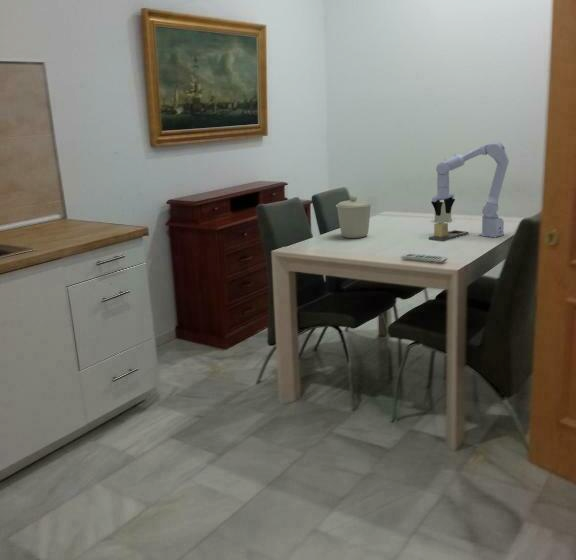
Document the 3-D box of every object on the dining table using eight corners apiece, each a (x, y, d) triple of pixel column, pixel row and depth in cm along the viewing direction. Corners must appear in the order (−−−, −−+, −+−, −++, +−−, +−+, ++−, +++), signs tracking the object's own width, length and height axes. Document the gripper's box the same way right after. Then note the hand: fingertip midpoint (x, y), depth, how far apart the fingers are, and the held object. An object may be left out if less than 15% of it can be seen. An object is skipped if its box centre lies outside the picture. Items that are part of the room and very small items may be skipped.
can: (447, 223, 343) (447, 201, 340) (431, 222, 349) (431, 200, 346) (454, 220, 350) (454, 198, 347) (438, 219, 356) (438, 198, 353)
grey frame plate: (468, 234, 312) (468, 231, 311) (442, 241, 300) (442, 238, 299) (454, 232, 318) (454, 230, 318) (428, 239, 306) (428, 236, 306)
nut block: (447, 238, 305) (447, 223, 303) (441, 240, 302) (441, 224, 300) (440, 237, 308) (440, 222, 306) (434, 239, 306) (434, 223, 304)
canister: (371, 239, 314) (370, 197, 308) (335, 240, 318) (333, 198, 312) (373, 232, 331) (372, 192, 325) (339, 233, 335) (337, 193, 329)
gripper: (445, 184, 317) (445, 211, 321) (427, 188, 309) (427, 215, 312) (457, 185, 312) (457, 212, 315) (438, 189, 303) (438, 217, 307)
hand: (443, 214), depth 313 cm, fingers open, 7 cm apart
